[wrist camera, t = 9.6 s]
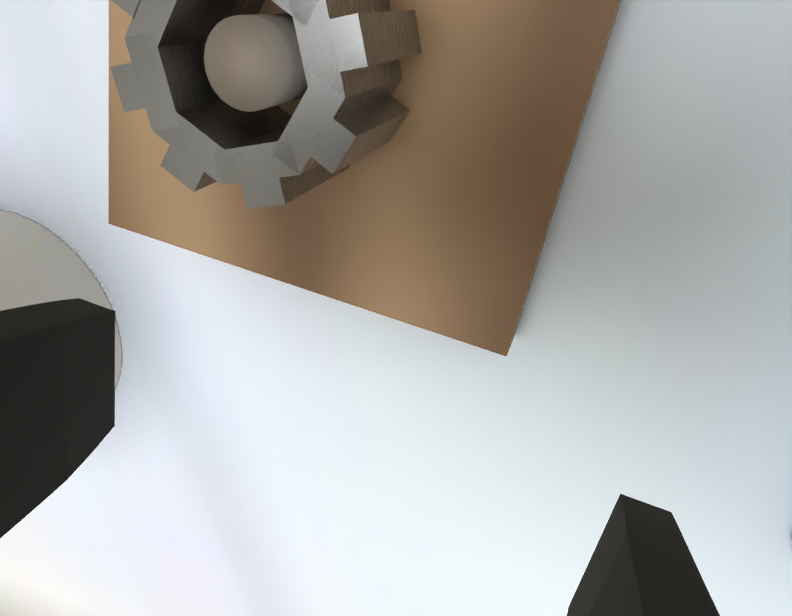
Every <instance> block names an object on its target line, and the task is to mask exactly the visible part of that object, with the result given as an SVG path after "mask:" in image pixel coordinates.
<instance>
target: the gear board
mask: <svg viewBox="0 0 792 616" xmlns="http://www.w3.org/2000/svg"><path fill="white" fill-rule="evenodd" d="M620 1H621V0H389V3H390V9H391V11H406V10H415V13H416V19H417V26H418V32H419V38H420V44H421V51H422V53H421V54H417V55H413V56H409V57H405V58H401V59H399V61H400V67H401V73H402V80H401V82H400V83H399V85H398V86H397V88H396V90H395V91H394V93H393V94H392V96H393V97H394V98H395V99H397V100H398V101H399V102H401V103H402V104H403V105H404V106H406V107H407V108H408V109H409V110H410V112H409V113H408V115H407V116H406V118H405V119H404V121H403V122H402V124H401V125H400V127H399V128H398V130H397V131H396V133H395V134H394V136H393V137H392V139H391V140H390V142H388V143H386V144H384V145H383V146H381V147H379V148H377V149H376V150H374V151H372V152H370V153H369V154H367V155H365V156H363V157H362V158H360V159H358V160H356V161H354V162H353V163H351V164H349V168H348V169H346V170H344V171H342V172H341V173H339V174H337V175H336V176H334V177H332V178H330V179H329V180H327V181H325V182H323V183H322V184H320V185H318V186H316V187H315V188H313V189H311V190H310V191H308V192H306V193H304V194H303V195H301V196H299V197H297V198H296V199H294V200H292V201H290V202H289V203H287V204H285V205H276V206H267V207H259V208H250V209H247V205H246V202H245V198H244V194H243V190H242V186H241V183H234V184H227V185H221V184H219V183H218V182H215V183H213V184H211V185H208V186H206V187H204V188H201V189H199V190H197V191H195V192H193V191H192V190H191V189H189V188H188V187H187V186H186V185H184V184H183V183H182V182H180V181H179V180H178V179H177V178H175V177H174V176H173V175H172V174H170V173H169V172H168V171H166V170H165V169H164V168H163V167H161V166H160V165H161V163H162V160H163V158H164V156H165V154H166V152H167V150H168V147H169V145H170V144H168V143H167V142H166V141H164V140H163V139H162V138H161V137H159V136H158V135H157V134H156V133H154V132H153V131H152V128H151V125H150V122H149V118H148V115H147V112H146V108H144V109H139V110H133V111H128V112H124V110H123V107H122V104H121V101H120V97H119V94H118V91H117V88H116V85H115V81H114V78H113V75H112V72H111V68H110V67H112V66H117V65H122V64H126V63H131V58H130V55H129V52H128V48H127V45H126V42H125V35H126V32H127V30H128V27H129V25H130V22H131V19H132V16H130V15H129V14H128V13H126V12H125V11H124V10H123V9H121V8H120V7H119V6H118V5H116V4H115V3H114V2H112V1H111V0H109V224H112V225H115V226H118V227H121V228H124V229H127V230H130V231H133V232H136V233H139V234H142V235H145V236H148V237H151V238H154V239H157V240H160V241H163V242H166V243H169V244H172V245H175V246H178V247H181V248H184V249H187V250H190V251H193V252H196V253H199V254H202V255H205V256H208V257H211V258H214V259H217V260H220V261H223V262H226V263H229V264H232V265H235V266H238V267H241V268H244V269H247V270H250V271H253V272H256V273H259V274H262V275H265V276H268V277H271V278H274V279H277V280H280V281H283V282H286V283H289V284H292V285H295V286H298V287H301V288H303V289H306V290H309V291H312V292H315V293H318V294H321V295H324V296H327V297H330V298H333V299H336V300H339V301H342V302H345V303H348V304H351V305H354V306H357V307H360V308H363V309H366V310H369V311H372V312H375V313H378V314H381V315H384V316H387V317H390V318H393V319H396V320H399V321H402V322H405V323H408V324H411V325H414V326H417V327H420V328H423V329H426V330H429V331H432V332H435V333H438V334H441V335H444V336H447V337H450V338H453V339H456V340H459V341H462V342H465V343H468V344H471V345H474V346H477V347H480V348H483V349H486V350H489V351H492V352H495V353H498V354H501V355H504V356H507V353H508V351H509V348H510V346H511V343H512V340H513V338H514V335H515V332H516V328H517V325H518V322H519V319H520V316H521V313H522V310H523V306H524V303H525V300H526V297H527V294H528V291H529V288H530V284H531V281H532V278H533V275H534V272H535V269H536V265H537V262H538V259H539V256H540V253H541V250H542V247H543V243H544V240H545V237H546V234H547V231H548V228H549V225H550V221H551V218H552V215H553V212H554V209H555V206H556V203H557V199H558V196H559V193H560V190H561V187H562V184H563V181H564V177H565V174H566V171H567V168H568V165H569V162H570V159H571V155H572V152H573V149H574V146H575V143H576V140H577V136H578V133H579V130H580V127H581V124H582V121H583V118H584V114H585V111H586V108H587V105H588V102H589V99H590V96H591V92H592V89H593V86H594V83H595V80H596V77H597V74H598V70H599V67H600V64H601V61H602V58H603V55H604V52H605V48H606V45H607V42H608V39H609V36H610V33H611V30H612V26H613V23H614V20H615V17H616V14H617V11H618V7H619V4H620ZM204 65H205V71H206V74H207V77H208V80H209V82H210V84H211V86H212V88H213V90H214V91H215V92H216V94H217V95H218V96H219V97H220V98H221V99H222V100H223V101H224V102H225V103H227V104H228V105H229V106H231V107H233V108H235V109H238V110H241V111H248V112H252V111H258V110H262V109H265V108H269V107H272V106H275V105H277V106H279V107H280V108H281V109H283V110H284V111H285V112H286V113H288V114H289V115H290V116H291V117H292V115H293V114H294V112H295V110H296V108H297V106H298V105H299V103H300V101H301V99H302V97H303V96H304V94H305V92H306V90H307V89H308V86H307V81H306V77H305V72H304V67H303V63H302V58H301V54H300V49H299V44H298V40H297V35H296V31H295V26H294V21H293V17H292V16H291V15H290V14H288V13H287V12H286V11H285V10H283V9H282V8H281V7H279V6H278V5H277V4H276V3H274V2H273V1H272V0H265V1H264V3H263V5H262V7H261V9H260V11H259V13H258V14H255V15H235V16H230V17H227V18H225V19H223V20H222V21H220V22H219V23H218V24H217V25H216V26H215V27H214V28H213V29H212V31H211V32H210V34H209V36H208V38H207V41H206V45H205V50H204Z"/></svg>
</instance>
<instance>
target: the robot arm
mask: <svg viewBox="0 0 792 616" xmlns="http://www.w3.org/2000/svg"><path fill="white" fill-rule="evenodd" d="M114 421H115V311H113V310H111V309H108V308H105V307H102V306H100V305H97V304H94V303H91V302H89V301H86V300H83V299H80V298H76V299H66V300H58V301H51V302H45V303H39V304H33V305H28V306H22V307H17V308H12V309H7V310H2V311H0V538H1V537H2V536H3V535H4V534H6V533H7V532H8V531H9V530H10V529H11V528H13V527H14V526H15V525H16V524H17V523H18V522H20V521H21V520H22V519H23V518H24V517H25V516H26V515H28V514H29V513H30V512H31V511H32V510H33V509H34V508H36V507H37V506H38V505H39V504H40V503H41V502H42V501H44V500H45V499H46V498H47V497H48V496H49V495H50V494H52V493H53V492H54V491H55V490H56V489H57V488H58V487H59V486H60V485H61V484H63V483H64V482H65V481H66V480H67V479H68V478H69V477H70V476H71V475H72V474H73V472H74V471H75V470H76V469H77V468H78V467H79V466H80V465H81V464H82V463H83V462H84V461H85V459H86V458H87V457H88V456H89V455H90V454H91V453H92V452H93V450H94V449H95V448H96V447H97V446H98V445H99V443H100V442H101V441H102V440H103V439H104V438H105V436H106V435H107V434H108V433H109V432H110V430H111V429H112V428H113V427H114ZM790 546H791V550H792V539H791V542H790ZM567 616H720V615H719V613H718V611H717V609H716V607H715V605H714V603H713V600H712V598H711V596H710V594H709V592H708V590H707V588H706V586H705V583H704V581H703V579H702V577H701V575H700V573H699V570H698V568H697V566H696V564H695V562H694V560H693V557H692V555H691V553H690V551H689V549H688V546H687V544H686V542H685V540H684V538H683V536H682V533H681V531H680V529H679V527H678V525H677V523H676V521H675V519H674V517H673V515H672V513H671V512H669V511H666V510H663V509H661V508H658V507H655V506H652V505H650V504H647V503H644V502H641V501H639V500H636V499H633V498H630V497H628V496H625V495H622V494H620V496H619V498H618V501H617V503H616V505H615V507H614V509H613V512H612V514H611V516H610V518H609V520H608V522H607V525H606V527H605V529H604V531H603V533H602V536H601V538H600V540H599V542H598V544H597V547H596V549H595V551H594V553H593V555H592V557H591V560H590V562H589V564H588V566H587V568H586V571H585V573H584V575H583V577H582V579H581V582H580V584H579V586H578V588H577V590H576V592H575V595H574V597H573V599H572V601H571V603H570V606H569V608H568V614H567Z"/></svg>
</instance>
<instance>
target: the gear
mask: <svg viewBox="0 0 792 616" xmlns="http://www.w3.org/2000/svg"><path fill="white" fill-rule="evenodd" d="M111 1H112V2H114V3H115V4H116V5H118V6H119V7H120V8H121V9H123V10H124V11H125V12H126V13H128V14H129V15H130V16H132V19H131V22H130V25H129V27H128V30H127V32H126V35H125V42H126V45H127V48H128V52H129V55H130V58H131V63H126V64H122V65H117V66H112V67H110V68H111V72H112V75H113V78H114V81H115V85H116V88H117V91H118V94H119V97H120V101H121V104H122V107H123V110H124V112H128V111H133V110H139V109H144V108H146V112H147V115H148V118H149V122H150V125H151V128H152V131H153V132H154V133H156V134H157V135H158V136H159V137H161V138H162V139H163V140H164V141H166V142H167V143H168V144H170V145H169V147H168V150H167V152H166V154H165V156H164V158H163V160H162V163H161V165H160V166H161V167H163V168H164V169H165V170H166V171H168V172H169V173H170V174H172V175H173V176H174V177H175V178H177V179H178V180H179V181H180V182H182V183H183V184H184V185H186V186H187V187H188V188H189V189H191V190H192V191H193V192H195V191H197V190H199V189H201V188H204V187H206V186H208V185H211V184H213V183H215V182H218V183H219V184H221V185H227V184H234V183H241V186H242V190H243V194H244V198H245V202H246V205H247V209H250V208H259V207H267V206H276V205H285V204H287V203H289V202H290V201H292V200H294V199H296V198H297V197H299V196H301V195H303V194H304V193H306V192H308V191H310V190H311V189H313V188H315V187H316V186H318V185H320V184H322V183H323V182H325V181H327V180H329V179H330V178H332V177H334V176H336V175H337V174H339V173H341V172H342V171H344V170H346V169H348V168H349V164H351V163H353V162H354V161H356V160H358V159H360V158H362V157H363V156H365V155H367V154H369V153H370V152H372V151H374V150H376V149H377V148H379V147H381V146H383V145H384V144H386V143H388V142H390V140H391V139H392V137H393V136H394V134H395V133H396V131H397V130H398V128H399V127H400V125H401V124H402V122H403V121H404V119H405V118H406V116H407V115H408V113H409V112H410V110H409V109H408V108H407V107H406V106H404V105H403V104H402V103H401V102H399V101H398V100H397V99H395V98H394V97H393V96H392V94H393V93H394V91H395V90H396V88H397V86H398V85H399V83H400V82H401V80H402V73H401V67H400V61H399V59H401V58H405V57H409V56H413V55H417V54H421V53H422V51H421V44H420V38H419V32H418V26H417V19H416V13H415V10H406V11H391V9H390V3H389V0H272V1H273V2H274V3H276V4H277V5H278V6H279V7H281V8H282V9H283V10H285V11H286V12H287V13H288V14H290V15H291V16H292V17H293V21H294V26H295V31H296V35H297V40H298V44H299V49H300V54H301V58H302V63H303V67H304V72H305V77H306V81H307V86H308V89H307V90H306V92H305V94H304V96H303V97H302V99H301V101H300V103H299V105H298V106H297V108H296V110H295V112H294V114H293V115H292V117H291V116H290V115H289V114H288V113H286V112H285V111H284V110H283V109H281V108H280V107H279V106H277V105H275V106H272V107H269V108H265V109H262V110H258V111H252V112H248V111H241V110H238V109H235V108H233V107H231V106H229V105H228V104H227V103H225V102H224V101H223V100H222V99H221V98H220V97H219V96H218V95H217V94H216V92H215V91H214V90H213V88H212V86H211V84H210V82H209V80H208V77H207V74H206V71H205V65H204V50H205V45H206V41H207V38H208V36H209V34H210V32H211V31H212V29H213V28H214V27H215V26H216V25H217V24H218V23H219V22H220V21H222V20H223V19H225V18H227V17H230V16H235V15H255V14H258V13H259V11H260V9H261V7H262V5H263V3H264V1H265V0H111Z"/></svg>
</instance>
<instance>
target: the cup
mask: <svg viewBox="0 0 792 616" xmlns="http://www.w3.org/2000/svg"><path fill="white" fill-rule="evenodd" d="M76 298H80V299H83V300H86V301H89V302H91V303H94V304H97V305H100V306H102V307H105V308H108V309H111V310H112V308H111V305H110V303H109V301H108V299H107V297H106V295H105V293H104V291H103V289H102V288H101V286H100V284H99V283H98V281H97V279H96V278H95V277H94V275H93V274H92V272H91V271H90V270H89V268H88V267H87V266H86V264H85V263H84V262H83V261H82V260H81V259H80V257H79V256H78V255H77V254H76V253H75V252H74V251H73V250H72V249H71V248H70V247H69V246H68V245H67V244H66V243H65V242H63V241H62V240H61V239H60V238H59V237H57V236H56V235H55V234H53V233H52V232H51V231H49V230H48V229H46V228H45V227H43V226H41V225H40V224H38V223H36V222H34V221H32V220H30V219H28V218H26V217H23V216H21V215H18V214H15V213H12V212H8V211H3V210H0V311H2V310H7V309H12V308H17V307H22V306H28V305H33V304H39V303H45V302H51V301H58V300H66V299H76ZM121 366H122V347H121V339H120V334H119V329H118V325H117V322H116V319H115V388H116V386H117V384H118V381H119V377H120V373H121Z"/></svg>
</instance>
